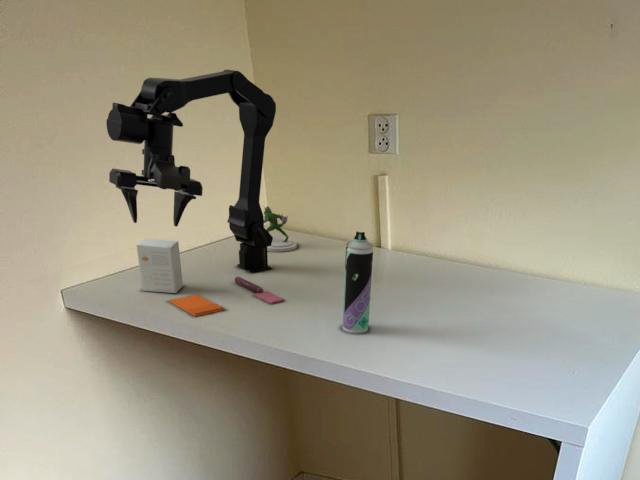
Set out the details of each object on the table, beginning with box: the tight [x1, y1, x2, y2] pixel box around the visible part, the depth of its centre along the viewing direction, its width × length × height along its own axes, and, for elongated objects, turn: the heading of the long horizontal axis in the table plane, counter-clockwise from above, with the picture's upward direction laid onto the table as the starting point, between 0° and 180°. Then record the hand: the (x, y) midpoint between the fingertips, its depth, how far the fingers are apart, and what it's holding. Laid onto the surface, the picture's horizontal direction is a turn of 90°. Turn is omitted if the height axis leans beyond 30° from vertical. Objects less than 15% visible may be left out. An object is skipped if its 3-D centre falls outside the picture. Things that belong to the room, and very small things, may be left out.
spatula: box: [234, 276, 284, 305], centre depth 159 cm, size 17×4×2 cm, turn 42°
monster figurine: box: [263, 205, 298, 253], centre depth 190 cm, size 12×12×10 cm
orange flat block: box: [169, 294, 224, 318], centre depth 149 cm, size 7×11×1 cm, turn 42°
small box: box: [136, 238, 184, 294], centre depth 155 cm, size 8×6×10 cm
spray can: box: [342, 231, 374, 335], centre depth 138 cm, size 6×6×20 cm
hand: (155, 224), depth 150 cm, fingers open, 9 cm apart
